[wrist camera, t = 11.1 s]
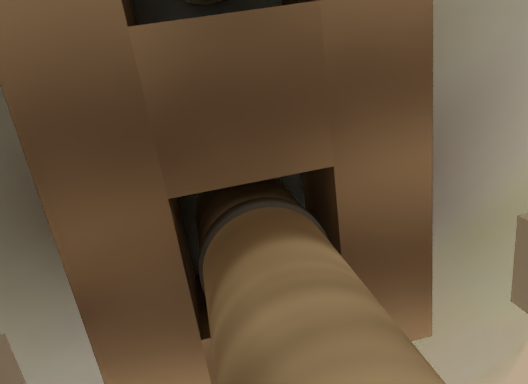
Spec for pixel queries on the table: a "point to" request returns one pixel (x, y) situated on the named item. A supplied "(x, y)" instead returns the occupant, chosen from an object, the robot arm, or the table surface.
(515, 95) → the table surface
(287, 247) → the beech peg
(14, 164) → the table surface
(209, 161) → the wooden peg block
